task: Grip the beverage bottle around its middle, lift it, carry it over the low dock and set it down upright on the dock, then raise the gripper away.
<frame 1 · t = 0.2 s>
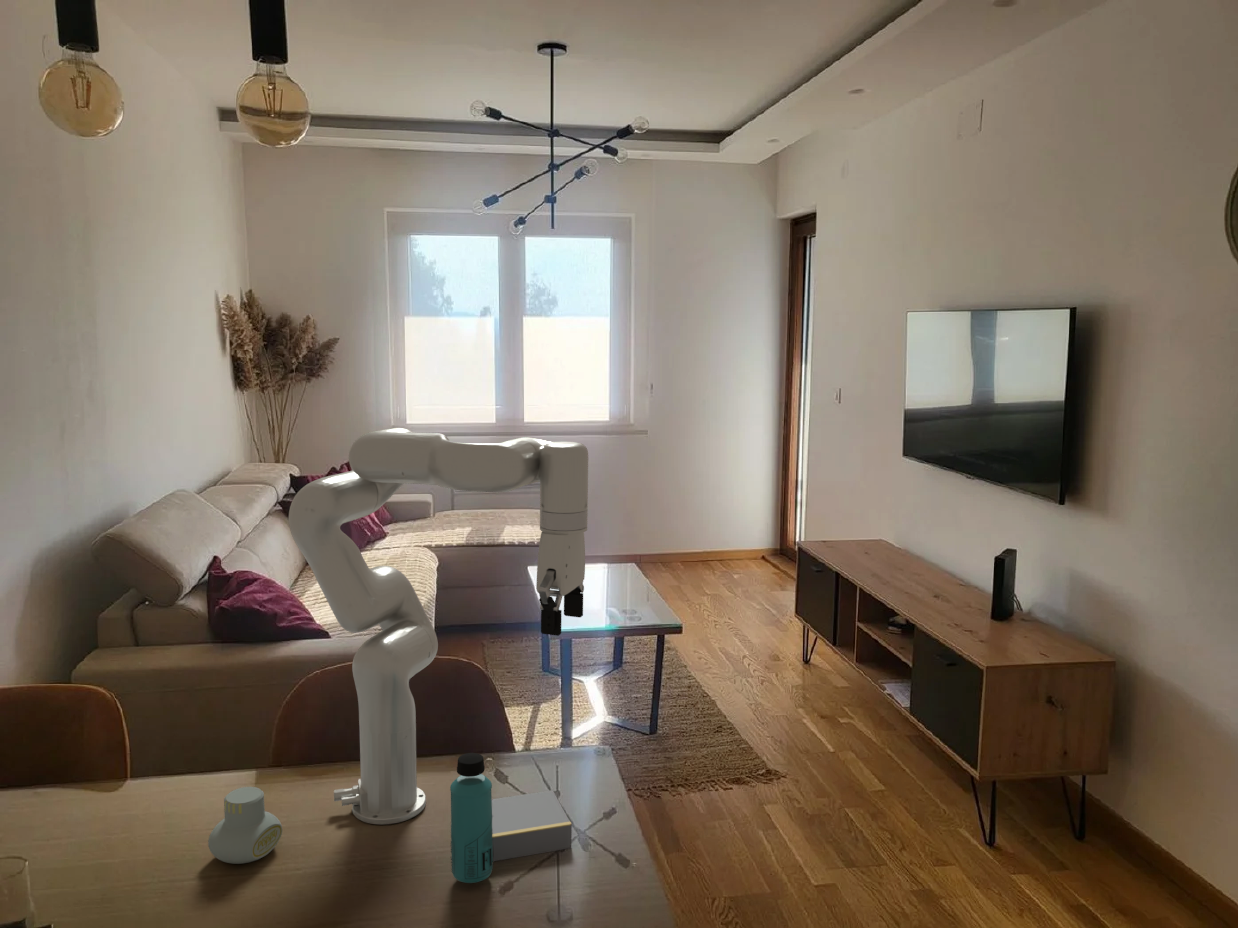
hand: (562, 624, 147), 37 cm above the table, tool pointing down, fingers open, 9 cm apart
air freshener: (246, 854, 147), on the table
beverage bottle: (471, 881, 140), on the table
dock: (521, 835, 153), on the table
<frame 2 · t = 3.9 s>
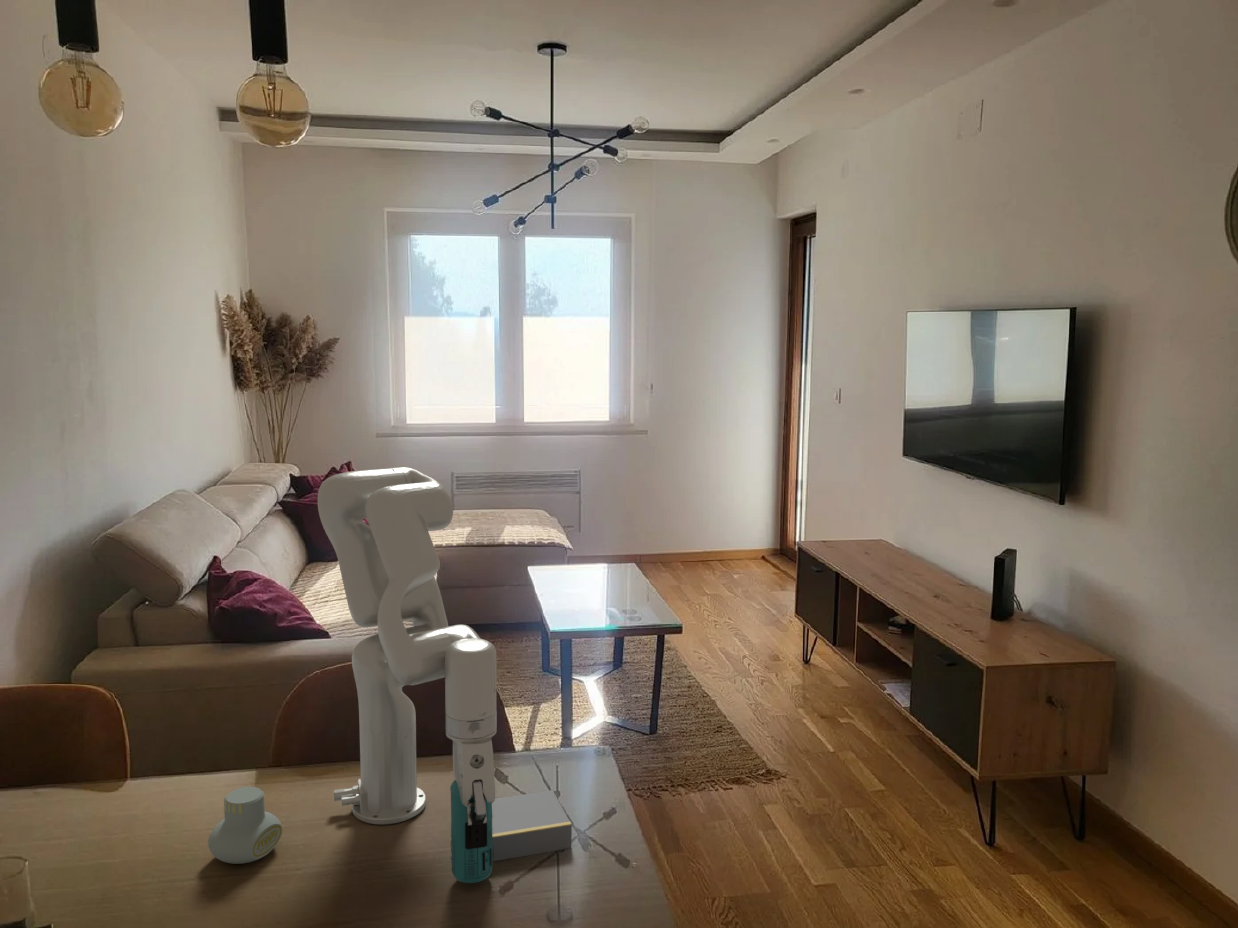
hand: (471, 833, 139), 8 cm above the table, tool pointing down, fingers closed on beverage bottle, 6 cm apart
beverage bottle: (472, 881, 140), on the table, touching gripper
everything else where it was.
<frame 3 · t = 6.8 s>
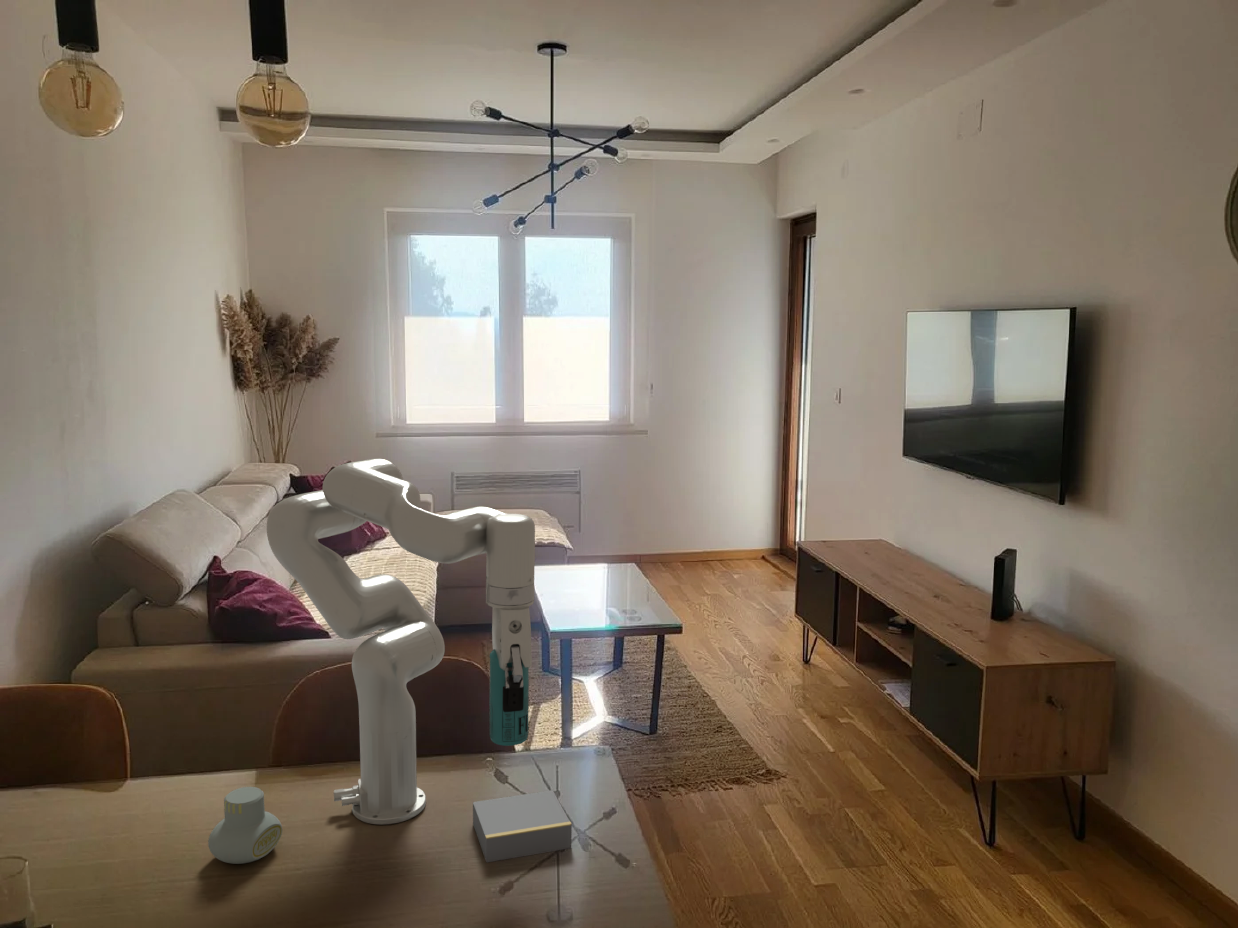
hand: (509, 700, 146), 25 cm above the table, tool pointing down, fingers closed on beverage bottle, 6 cm apart
beverage bottle: (508, 746, 148), point 17 cm above the table, touching gripper
everything else where it was.
when the fingers open (13 cm above the table, at t = 10.0 s): beverage bottle drops 1 cm, resting on dock.
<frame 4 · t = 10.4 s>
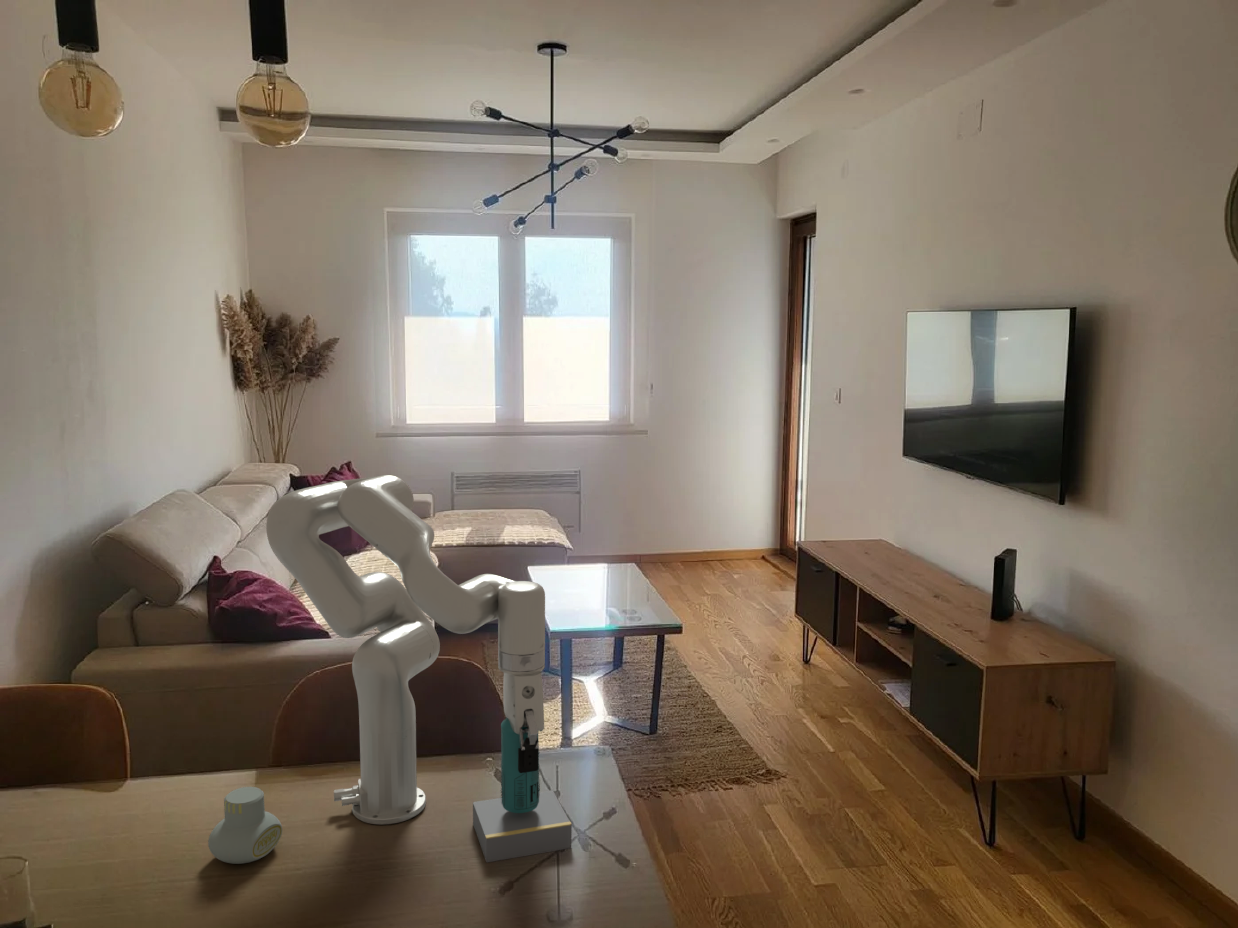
hand: (521, 757, 151), 14 cm above the table, tool pointing down, fingers open, 9 cm apart
beverage bottle: (520, 813, 153), point 4 cm above the table, touching dock
everything else where it was.
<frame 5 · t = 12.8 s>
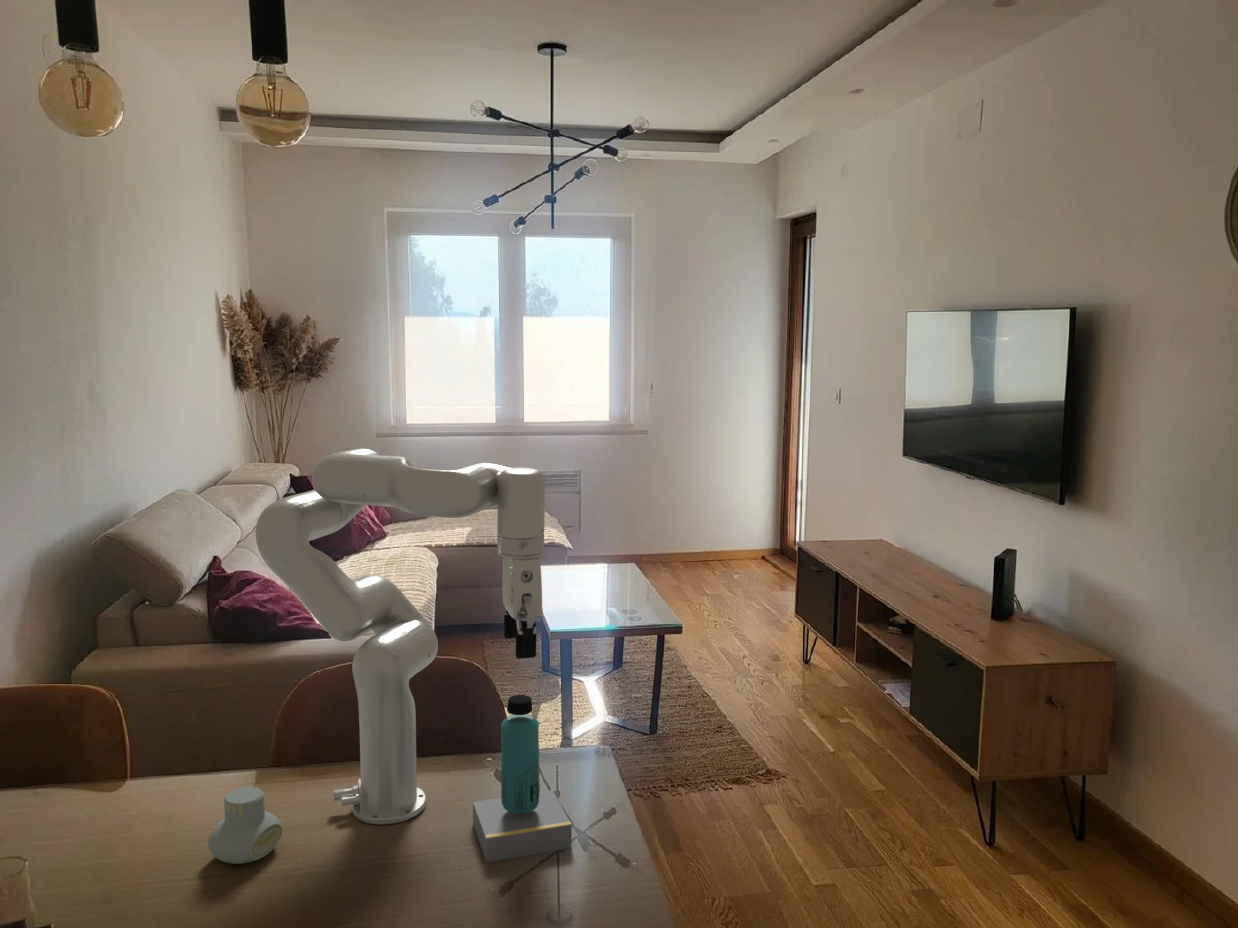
hand: (519, 647, 150), 32 cm above the table, tool pointing down, fingers open, 9 cm apart
nothing on the table moved.
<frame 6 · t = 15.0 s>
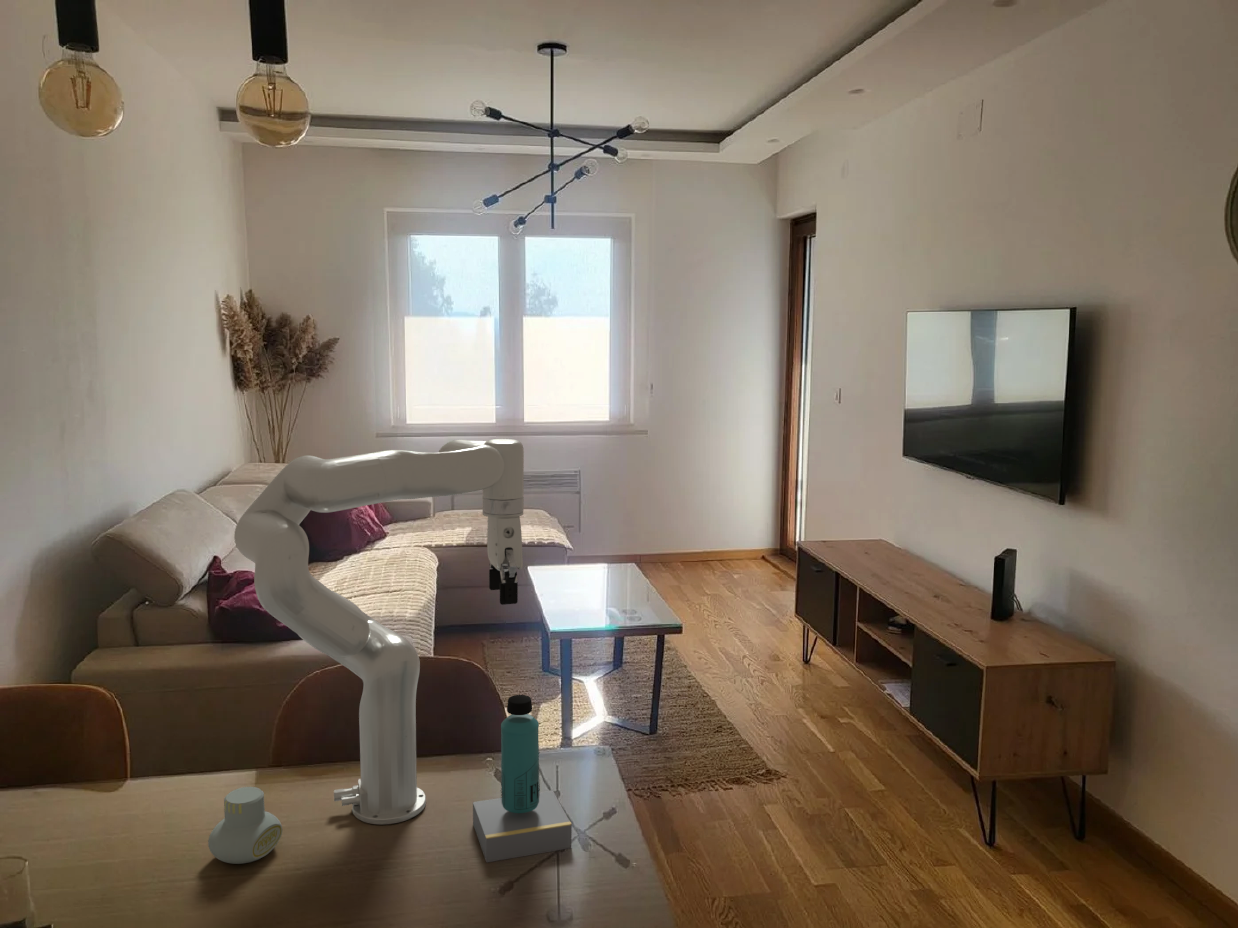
hand: (503, 596, 171), 34 cm above the table, tool pointing down, fingers open, 9 cm apart
nothing on the table moved.
at the end: beverage bottle inside the target area on the dock (0.4 cm from its centre), point 3.8 cm above the dock's base; beverage bottle tilted 0°; the gripper is holding nothing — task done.
